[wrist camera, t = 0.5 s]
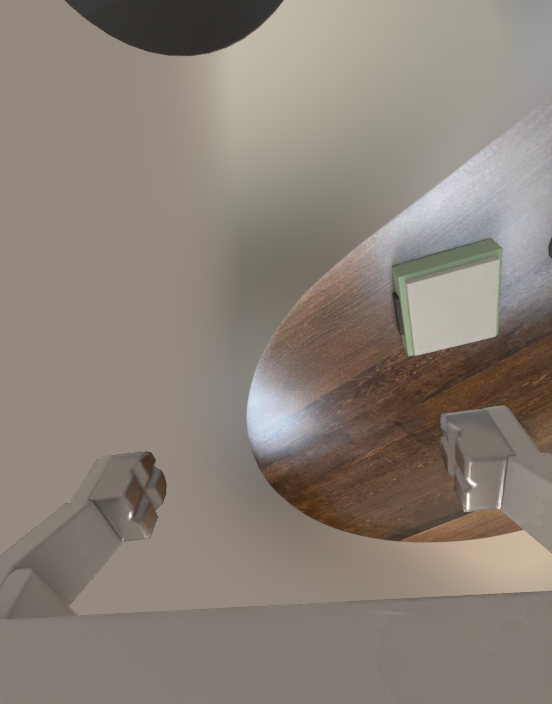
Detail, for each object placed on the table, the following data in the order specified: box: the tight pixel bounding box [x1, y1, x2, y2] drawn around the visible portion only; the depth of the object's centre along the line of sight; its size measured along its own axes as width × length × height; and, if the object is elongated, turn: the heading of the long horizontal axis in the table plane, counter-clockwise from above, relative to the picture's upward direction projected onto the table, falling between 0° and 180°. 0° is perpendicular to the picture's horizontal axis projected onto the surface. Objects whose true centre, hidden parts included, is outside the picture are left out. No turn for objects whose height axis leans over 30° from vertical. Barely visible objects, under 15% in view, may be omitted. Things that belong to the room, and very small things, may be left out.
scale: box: [392, 239, 502, 356], centre depth 50 cm, size 13×12×4 cm
